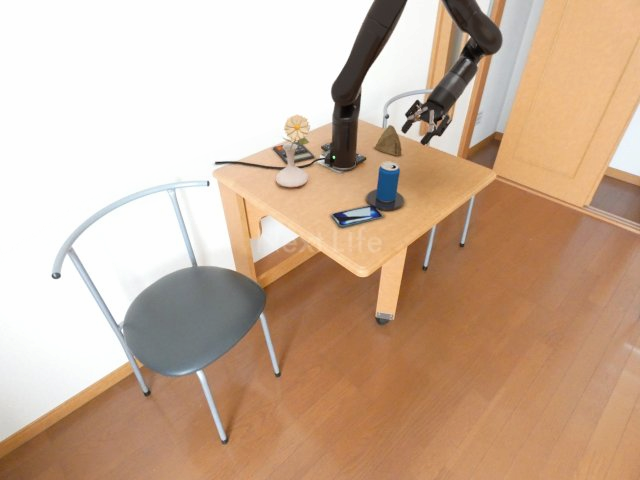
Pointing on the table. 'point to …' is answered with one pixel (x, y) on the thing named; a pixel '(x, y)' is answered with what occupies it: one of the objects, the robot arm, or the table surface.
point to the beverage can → (388, 181)
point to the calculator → (299, 154)
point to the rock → (389, 142)
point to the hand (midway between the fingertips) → (412, 138)
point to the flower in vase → (297, 131)
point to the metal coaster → (384, 206)
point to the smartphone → (356, 216)
